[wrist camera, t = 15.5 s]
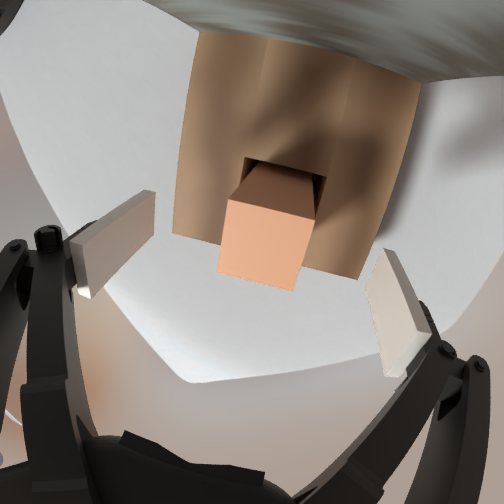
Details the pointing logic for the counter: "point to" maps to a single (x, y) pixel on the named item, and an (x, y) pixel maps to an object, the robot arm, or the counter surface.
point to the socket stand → (318, 103)
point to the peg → (268, 226)
